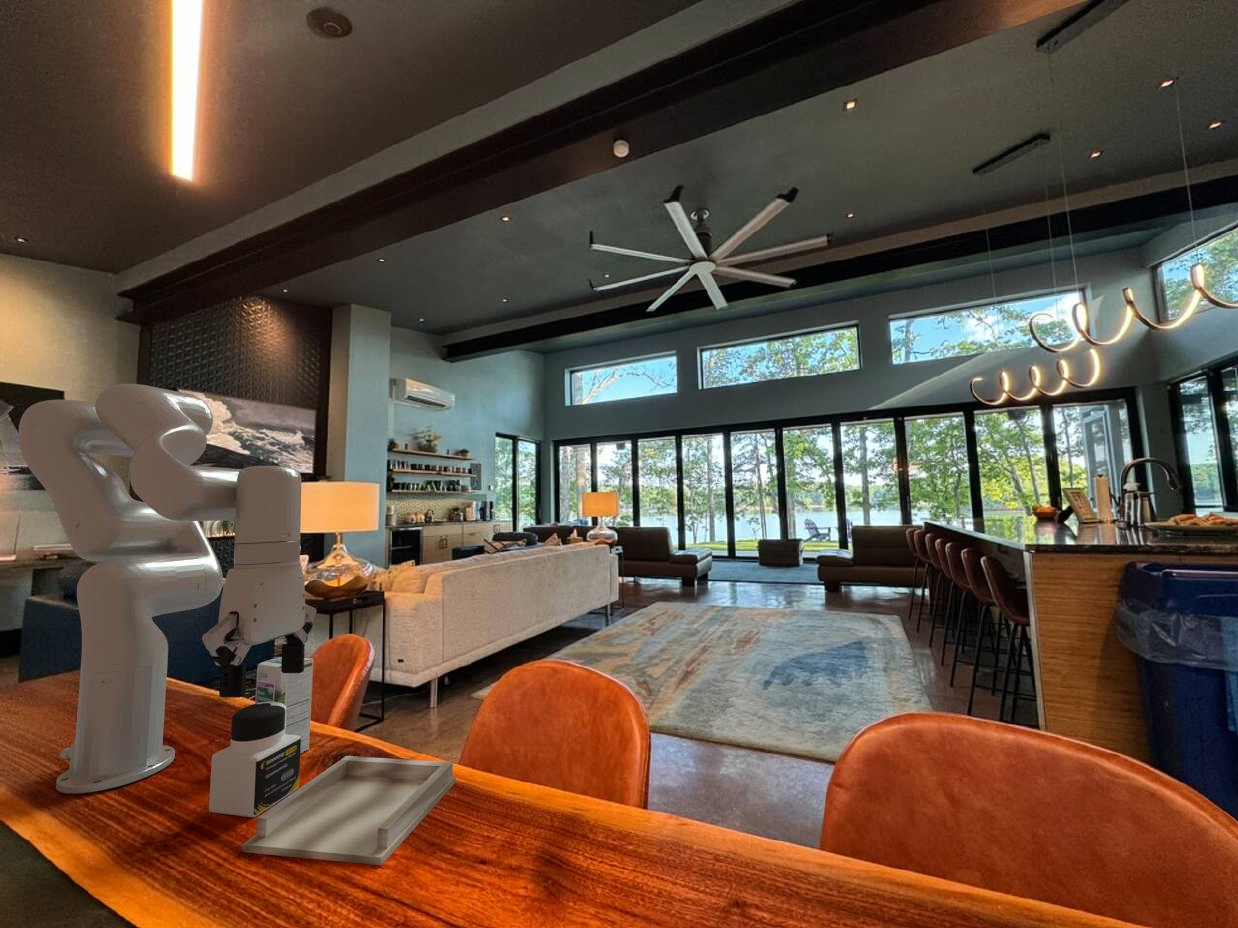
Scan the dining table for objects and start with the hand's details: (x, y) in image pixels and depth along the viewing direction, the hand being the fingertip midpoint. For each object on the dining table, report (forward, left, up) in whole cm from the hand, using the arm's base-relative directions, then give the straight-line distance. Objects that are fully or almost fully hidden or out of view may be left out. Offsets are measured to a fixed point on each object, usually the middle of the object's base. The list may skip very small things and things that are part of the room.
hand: (264, 683), depth 69 cm
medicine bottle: (-1, 0, -15) cm, 15 cm away
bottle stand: (+15, -1, -15) cm, 22 cm away
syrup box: (-8, +12, -15) cm, 21 cm away
